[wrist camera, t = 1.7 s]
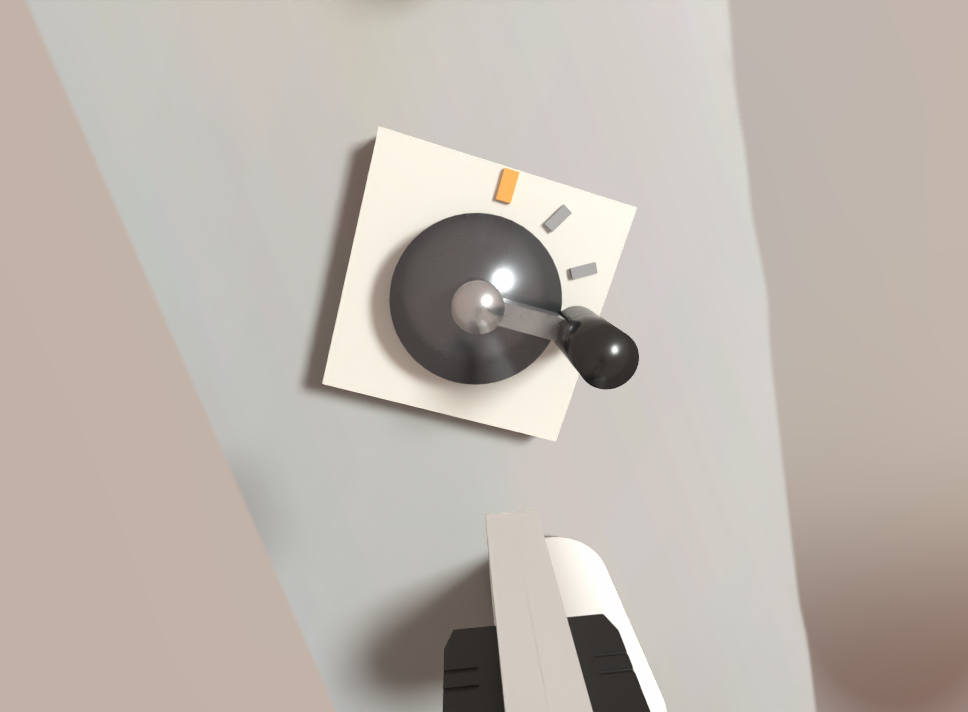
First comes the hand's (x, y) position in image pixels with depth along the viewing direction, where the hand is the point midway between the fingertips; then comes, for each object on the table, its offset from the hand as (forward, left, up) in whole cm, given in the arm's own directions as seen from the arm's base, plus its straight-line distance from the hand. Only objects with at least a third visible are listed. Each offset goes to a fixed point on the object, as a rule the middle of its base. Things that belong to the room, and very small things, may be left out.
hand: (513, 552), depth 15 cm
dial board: (+5, +2, -17) cm, 18 cm away
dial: (+5, +1, -15) cm, 16 cm away
